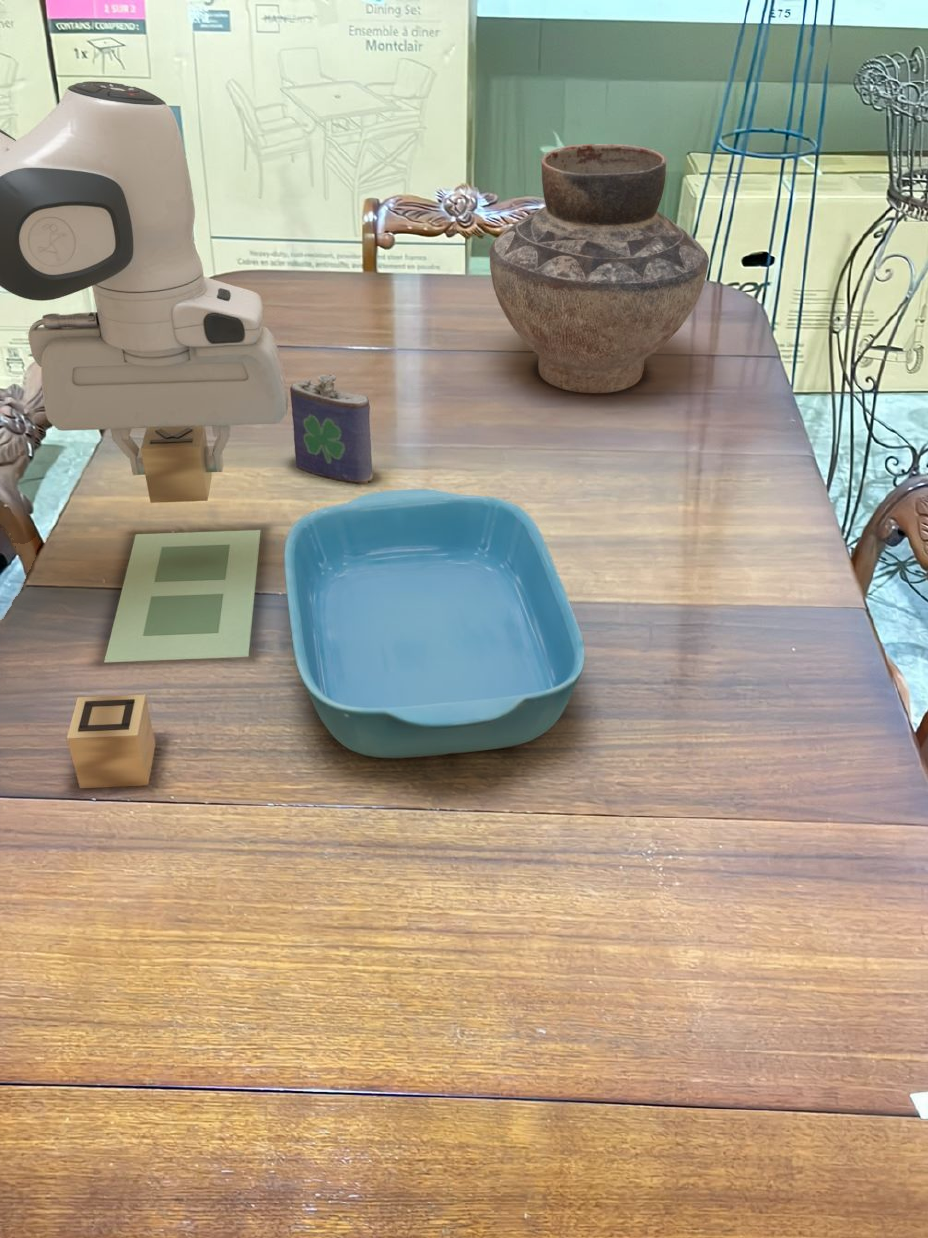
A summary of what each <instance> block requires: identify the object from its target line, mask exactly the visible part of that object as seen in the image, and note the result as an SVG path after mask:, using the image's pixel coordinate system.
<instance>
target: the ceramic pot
mask: <svg viewBox="0 0 928 1238" xmlns="http://www.w3.org/2000/svg"><path fill="white" fill-rule="evenodd" d="M667 161H668V159H667V157H666V156H665V155H664V154H663V153H662V152H661V151H657V150H656V149H652V148H649V147H644V146H637V145H631V144H622V143H581V144H572V145H567V146H562V147H558V148H556V149H553V150H550V151H549V152H547V153H545V154H543V155H542V157H541V159H540V163H541V184H542V185H541V186H542V193H543V199H544V203H545V206H543V207H541V208H538V209H537V210H535V211H534V212H532V213H529V214H528V215H526V216H525V217H523V218H521V219H520V220H518V221H517V222H515V223H514V224H512V225H511V226H509V227H508V228H506V229H505V230H504V231H503V232H502V233H501V234H499V236H497V237H496V238H495V239H494V240H493V241H492V242H491V244H490V246H489V251H488V252H489V253H488V254H489V270H490V271H489V272H490V276H491V280H492V281H491V282H492V286H493V290H494V292H495V296H496V298H497V302H498V303H499V306H500V307H501V310H502V311H503V313H504V315H505V317H506V319H507V321H508V323H509V324H510V325H511V327H512V328H513V329H514V331H515V332H516V334H517V335H518V337H519V338H520V339H521V341H522V342H524V344H525V345H526V346H527V347H528V348H529V349H530V350H532V352H534V353H535V354H537V356H538V362H537V365H538V374H539V376H540V378H542V379H543V380H544V381H545V382H546V383H548V384H550V386H551V385H552V386H554V387H555V388H560V389H561V390H566V391H569V392H574V393H575V392H576V393H583V394H584V393H585V394H608V393H614V392H619V391H623V390H626V389H628V388H631V387H632V386H634V385H636V384H638V383H639V381H640V380H641V378H642V377H643V372H644V368H645V361H646V359H647V358H648V357H649V356H651V355H653V354H654V353H656V352H657V351H659V349H661V348H662V347H663V346H664V345H665V344H666V343H667V342H668V341H669V340H670V339H671V338H672V337H673V336H674V335H675V334H676V333H677V332H678V331H679V330H680V328H682V326H683V324H684V323H685V321H687V319H688V317H689V316H690V315H691V314H692V312H693V310H694V308H695V306H696V304H697V302H698V300H699V298H700V296H701V293H702V291H703V289H704V285H705V282H706V278H707V274H708V268H709V266H710V265H709V264H710V256H709V254H708V252H707V251H706V250H705V248H704V247H703V246H702V245H701V244H700V243H699V241H698V240H697V239H695V238H694V237H693V236H691V235H690V234H689V233H688V232H687V231H686V230H684V229H683V228H682V227H680V226H679V225H677V224H676V223H675V222H674V221H672V220H671V219H670V218H668V217H667V216H665V215H664V214H662V213H660V212H659V211H658V209H659V206H660V205H661V200H662V197H663V193H664V190H665V185H666V184H665V183H666V175H667Z"/></svg>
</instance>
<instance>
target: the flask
mask: <svg viewBox="0 0 928 1238" xmlns="http://www.w3.org/2000/svg"><path fill="white" fill-rule="evenodd" d="M316 380H317V382H319V383H318V384H317V383H315V382H313V381H312V379H310V378H308V379H306V380H305V381H297V382H295V381H294V383H292V384H291V385H290V388H289V391H290V402H291V416H292V425H293V442H294V455H295V466H296V468H297V469H299V470H301V471H303V472H305V473H307V474H310V475H314V476H316V477H320V478H324V479H327V480H332V481H337V482H342V483H346V484H353V485H367V484H370V482H373V480H374V469H373V458H372V457H373V456H372V443H371V439H372V438H371V423H370V420H371V419H370V416H371V415H370V413H371V405H370V400H369V397H368V396H366V395H363V394H358V393H357V394H356V393H350V392H345V391H339V390H335V389H334V388H335V383H334V382H335V381H336V380H337V376H336V375H334V373H329V375H327V374H320V375H318V376H317V377H316Z"/></svg>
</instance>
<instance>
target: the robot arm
mask: <svg viewBox="0 0 928 1238" xmlns="http://www.w3.org/2000/svg"><path fill="white" fill-rule="evenodd" d="M174 114H175V113H174V112H173V110H172V108H171V107H170V106H169V105H168V104H167V103H166V101H164V100H163V99H161V97H159V96H157V95H155V94H154V93H151V92H150V91H147V90H145V89H143V88H139V87H136V86H130V85H125V84H123V83H117V82H108V81H107V82H106V81H94V80H93V81H92V80H91V81H83V82H77V83H74V84H72V85H69V86H68V87H67V88H66V89H65V92H64V93H63V96H62V98H61V99H60V101H59V102H58V103H57V104H56V105H55V107H54V108H53V109H52V110H51V111H50V112H49V113H48V115H47V116H46V117H44V119H43V120H41V121H40V122H39V123H38V124H37V125H36V126H34V127H33V128H32V129H31V130H30V131H28V132H27V133H25V134H24V135H23V136H21V137H19V138H18V139H15V137H12V135H9V133H7V132H6V131H5V130H3V129H1V128H0V287H1V288H2V289H3V290H5V291H7V292H9V293H11V294H13V295H15V296H17V297H20V298H23V299H26V300H31V301H41V302H43V301H53V300H57V299H60V298H64V297H67V296H70V295H72V294H74V293H78V292H81V291H83V290H86V289H88V288H91V287H92V292H93V299H94V303H95V309H96V311H95V312H93V311H91V312H90V311H89V312H76V313H70V314H60V313H47V314H43V315H42V318H40V319H38V320H36V321H35V322H33V323H32V325H30V327H29V329H28V334H27V337H28V343H29V347H30V352H31V355H32V358H33V361H35V363H36V365H38V366H39V367H40V373H41V375H40V377H41V390H42V399H43V407H44V412H45V416H46V419H47V421H48V422H49V423H50V424H51V425H52V426H53V427H54V428H55V429H57V431H62V432H65V431H93V430H110V432H111V437H112V441H113V442H114V443H115V445H117V447H118V448H119V449H120V450H121V451H122V453H123V454H124V455H125V456H126V457H127V458H128V459H129V462H130V467H131V472H132V475H133V476H143V475H144V476H145V470H144V465H143V460H142V454H141V448H140V447H139V446H138V444H137V443H136V442H135V440H134V439H133V438H132V437H131V433H132V429H146V428H162V427H192V426H205V427H211V428H212V435H213V437H215V438H216V439H215V442H214V444H213V445H210V446H209V445H208V447H205V452H204V461H205V464H206V465H205V468H206V472H207V473H208V472H212V473H224V456H223V451H224V450H225V447H226V445H227V443H228V441H229V439H230V438H231V437H230V436H231V430H232V426H250V425H251V426H253V425H254V426H255V425H276V424H279V423H280V422H282V420H284V418H285V416H286V415H287V413H288V408H289V407H288V405H289V404H288V403H289V401H288V399H289V398H288V389H287V388H288V387H287V384H286V377H285V376H286V375H285V372H284V367H283V363H282V359H281V358H282V357H281V355H280V351H279V347H278V344H277V342H276V339H275V337H274V335H273V334H272V332H271V331H270V329H268V328H267V327H266V326H265V325H264V320H265V319H264V318H265V317H264V316H265V315H264V305H263V301H262V298H261V296H260V294H258V293H257V292H256V291H253V290H250V289H247V288H243V287H240V286H236V285H232V284H229V283H226V282H223V281H219V280H216V279H213V278H209V277H207V276H205V275H204V268H203V263H202V261H201V260H202V259H201V258H200V255H199V253H198V250H197V247H196V243H195V238H194V237H195V236H194V227H195V226H194V225H195V220H196V208H195V207H196V206H195V201H194V194H193V188H192V187H193V186H192V181H191V176H190V175H191V174H190V170H189V165H188V160H187V155H186V149H185V145H184V142H183V138H182V133H181V131H180V127H179V124H178V122H177V119H176V116H175V115H174ZM42 325H43V326H42Z"/></svg>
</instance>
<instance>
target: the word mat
mask: <svg viewBox="0 0 928 1238" xmlns="http://www.w3.org/2000/svg"><path fill="white" fill-rule="evenodd" d="M261 531H262V530H261V529H255V530H254V529H250V530H249V529H247V530H221V531H193V532H191V531H190V532H164V533H163V532H162V533H161V532H160V533H135V536H134V540H133V544H132V548H131V551H130V556H129V561H128V564H127V568H126V572H125V576H124V579H123V584H122V589H121V593H120V596H119V600H118V605H117V609H116V613H115V617H114V621H113V625H112V629H111V633H110V638H109V641H108V645H107V648H106V649H107V650H106V652H105V657H104V661H103V662H104V663H106V664H107V663H129V662H130V663H131V662H154V661H155V662H157V661H178V660H180V661H181V660H203V659H204V660H206V659H207V660H208V659H226V658H227V659H229V658H230V659H231V658H249V657H250V646H251V636H252V626H253V615H254V605H255V604H254V603H255V594H256V593H255V592H256V583H257V574H258V563H259V552H260V541H261Z"/></svg>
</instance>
